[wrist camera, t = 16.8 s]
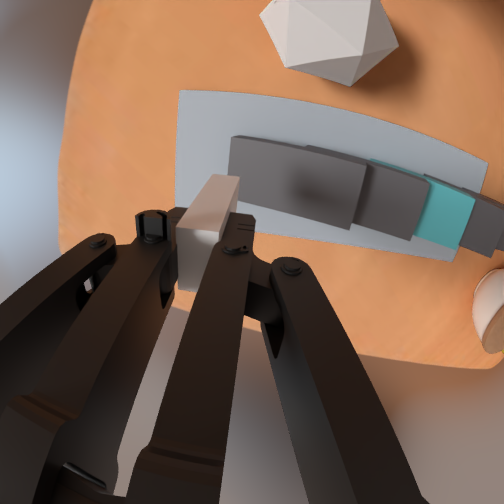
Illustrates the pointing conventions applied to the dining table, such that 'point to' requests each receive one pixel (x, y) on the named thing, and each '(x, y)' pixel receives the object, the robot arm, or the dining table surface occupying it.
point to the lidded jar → (490, 311)
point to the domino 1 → (297, 179)
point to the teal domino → (441, 212)
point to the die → (330, 36)
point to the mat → (316, 134)
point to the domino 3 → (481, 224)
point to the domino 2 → (388, 198)
